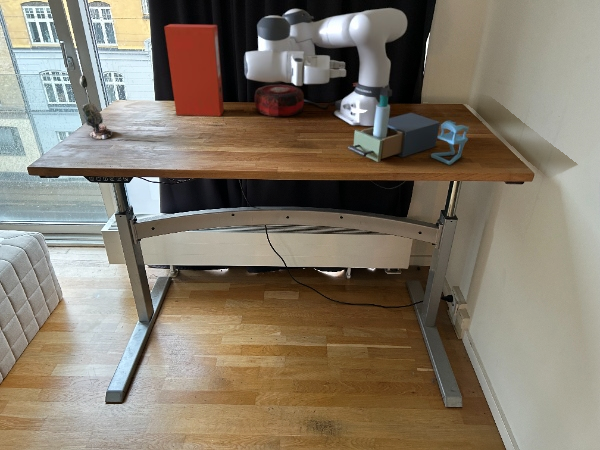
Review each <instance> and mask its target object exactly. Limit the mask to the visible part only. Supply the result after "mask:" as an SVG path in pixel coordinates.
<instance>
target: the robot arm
mask: <svg viewBox="0 0 600 450" xmlns="http://www.w3.org/2000/svg"><path fill="white" fill-rule="evenodd" d="M313 19H315V17H314V16H313V15H310V13H309V12H307V11H306V10H304V9H300V8H292V9H289V10H287V11H286V12H285V13H283V14H282V16H280V15H268V16H264V17H262V18H261V19H260V20H259V21H258V22H257V24H256V29H257V37H258V38H257V45H258V48H257V50H251V51H245V53H244V56H243V64H244V65H243V66H244V67H243V68H244V76H245V78H246V79H247V80H250V81H255V82H262V83H266V84H280V83H282V82H283V83H285V84H292V85H294V86H295V87H302V86H303V84H304V85H320V84H321V85H324V84H328V83H329V82H330V79H334V78H341V77H342V78H344V77H347V70H346V62H344V61H338V60H334V59H331V56H330V55H323V54H322V55H321V54H320V55H319V54H318V55H317V54H316V50H315V49H316V48H315V46H317V47H320V48H325V49H340V48H352V47H356V48H357V52H358V57H359V71H358V81H357V82H354V83H352V84H353V85H352V87H355V88H354V90H353V91H352V92H351V93H349V94H348V95H346V96H345V97H344V98H343V99H339V100H336V101H334V102H329V103H327V105H326V106H325V105H324V106H322V105H321V104H319V103H317V102H314V101H311V100H308V99H305V98H304V103H308V104H310V105H313V106H315V107H317V108H320V109H323V110H327V109H328V108H329V107H330V106H334V109H335V111H334V112H333V115H334V116H336V117H338V118H340V119H341V120H343V121H345V122H346V123H348V124H349V125H351V126H366V127H374V122H375V113H376V105H377V104H380V91H381V88H387V89H390V83H389V81H390V74H391V64H392V63H391V60H390V59H389V58H388V56H387V53H386V44H387V43H392V42H394V41H397V39H399V38H401V37H402V36H403V35H404V34H405V33H406V31H407V29H408V28H407V27H408V19H407V16H406V14H405V13H404V12H403V10H400V9H397V8H392V7H388V8H387V7H386V8H379V9H370V10H369V9H368V10H367V9H366V10H364V11H361V12H353V13H346V14H340V15H333V16H330V17H326V18H324V19H321V20H317V21H313Z"/></svg>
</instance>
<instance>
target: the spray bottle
mask: <svg viewBox="0 0 600 450" xmlns="http://www.w3.org/2000/svg"><path fill="white" fill-rule="evenodd" d="M392 95H393V89H390V88H389V89H387V88H381V91H380V104H377V105H376V113H375V122H374V126H373V127H374V131H373V137H376V138H378V139H381V140H382V139H383V138H386V136H387V128H388V120H389V118H390V112H391V105H390V104H389V97H392Z"/></svg>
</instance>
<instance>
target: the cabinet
mask: <svg viewBox="0 0 600 450" xmlns="http://www.w3.org/2000/svg"><path fill="white" fill-rule="evenodd" d="M388 127H389V128H392V129H394V130H397V131H399V132H402V133H405V134H404V140H403V147H402V152H401V153H398V154H395V155H397V156H398V157H401V158H404V157H407V156H411V155H414V154H417V153H420V152H423V151H426V150H429V149H432V148H435V147H436V146H437V141H438V138H437V137H438V135H439V132H440V127H441V122H440V121H437V120H434V119H431V118H428V117H425V116H423V115H419V114H417V113H414V112H408V113H404V114H400V115H397V116H393V117H389V120H388Z"/></svg>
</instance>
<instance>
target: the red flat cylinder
mask: <svg viewBox="0 0 600 450" xmlns="http://www.w3.org/2000/svg"><path fill="white" fill-rule="evenodd" d="M304 99H305V95H304V92H303V90H302V89H301V88H300V87H298V86H295V85H294V86H293V85H289V84H267V85H264V86H262V87H258V88H257V89H256V90H255V92H254V106H255V109H256V111H257V112H258V113H259V114H262V115H265V116H269V117H277V118H278V117H281V118H282V117H289V116H290V117H291V116H295V115H297V114H300V113H301V112H302V111H303V108H304V105H305V102H304Z"/></svg>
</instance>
